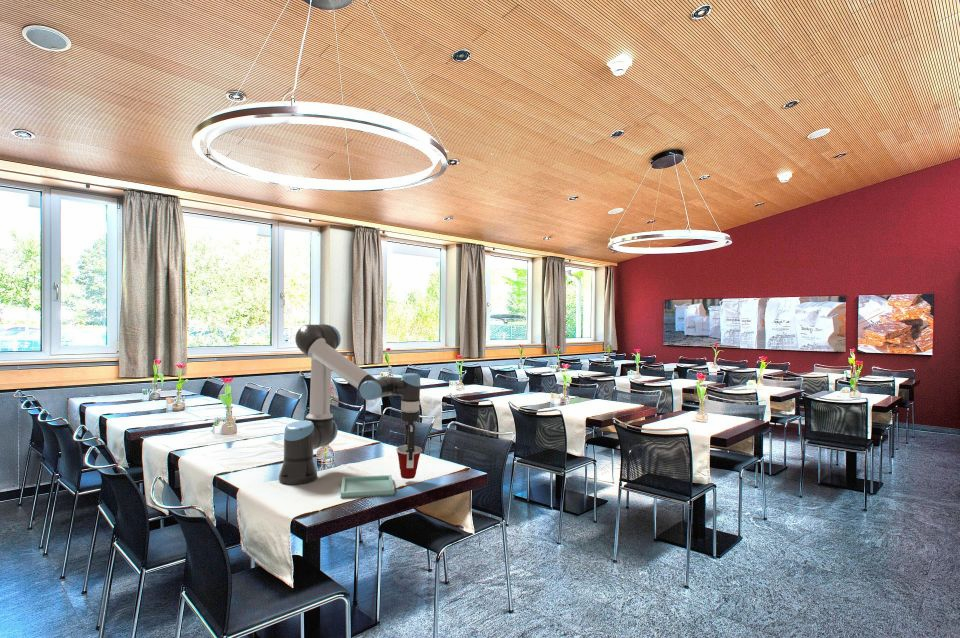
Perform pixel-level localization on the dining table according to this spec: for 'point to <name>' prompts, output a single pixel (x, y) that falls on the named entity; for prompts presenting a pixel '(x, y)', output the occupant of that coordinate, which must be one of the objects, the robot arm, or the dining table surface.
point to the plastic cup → (402, 456)
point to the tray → (367, 486)
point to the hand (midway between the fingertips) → (408, 463)
